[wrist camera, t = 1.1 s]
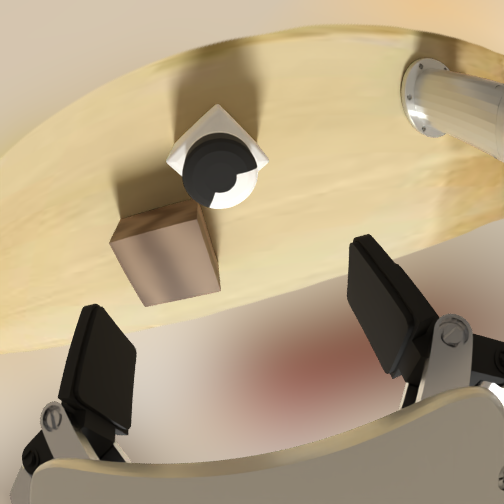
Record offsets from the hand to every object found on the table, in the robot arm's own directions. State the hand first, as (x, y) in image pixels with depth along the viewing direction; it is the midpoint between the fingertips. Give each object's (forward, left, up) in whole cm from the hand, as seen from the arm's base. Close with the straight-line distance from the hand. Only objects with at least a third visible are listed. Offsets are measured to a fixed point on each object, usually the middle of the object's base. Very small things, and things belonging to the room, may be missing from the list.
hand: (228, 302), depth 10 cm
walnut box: (+9, +12, -26) cm, 30 cm away
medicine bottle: (0, 0, -25) cm, 25 cm away
